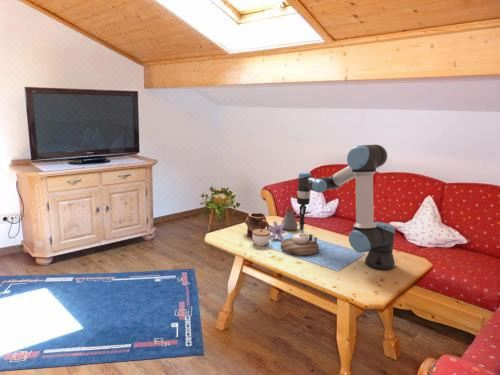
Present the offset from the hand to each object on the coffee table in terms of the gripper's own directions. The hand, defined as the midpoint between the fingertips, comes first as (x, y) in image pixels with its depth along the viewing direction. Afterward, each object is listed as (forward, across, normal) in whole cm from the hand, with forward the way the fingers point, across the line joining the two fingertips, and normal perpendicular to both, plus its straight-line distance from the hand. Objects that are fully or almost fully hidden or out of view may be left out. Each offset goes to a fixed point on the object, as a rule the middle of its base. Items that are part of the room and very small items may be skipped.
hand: (301, 234), depth 242 cm
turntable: (+4, +14, 0) cm, 15 cm away
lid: (+1, +9, 0) cm, 10 cm away
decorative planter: (+5, -2, -28) cm, 28 cm away
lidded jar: (+5, +12, -24) cm, 27 cm away
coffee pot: (+5, -20, -5) cm, 21 cm away
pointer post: (+4, +2, +6) cm, 8 cm away
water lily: (+5, 0, -16) cm, 16 cm away
